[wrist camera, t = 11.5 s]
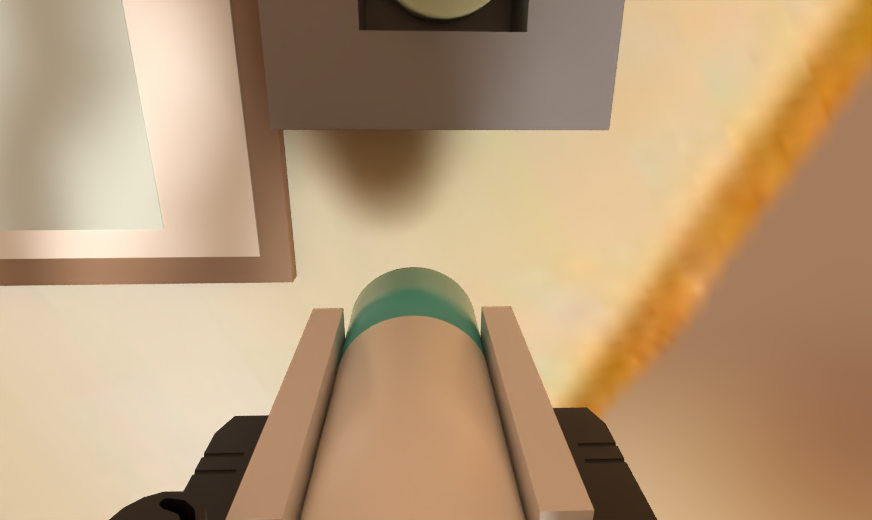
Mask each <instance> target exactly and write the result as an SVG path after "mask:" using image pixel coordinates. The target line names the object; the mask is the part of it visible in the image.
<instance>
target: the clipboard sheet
mask: <svg viewBox="0 0 872 520" xmlns="http://www.w3.org/2000/svg"><path fill="white" fill-rule="evenodd" d="M296 276H297V275H296V265H295V254H294V244H293V233H292V222H291V212H290V201H289V190H288V180H287V169H286V159H285V148H284V137H283V130H271V126H270V116H269V106H268V97H267V87H266V77H265V67H264V57H263V48H262V38H261V28H260V18H259V8H258V0H0V286H15V285H98V284H180V283H263V282H293V281H294V279H295V278H296Z"/></svg>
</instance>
